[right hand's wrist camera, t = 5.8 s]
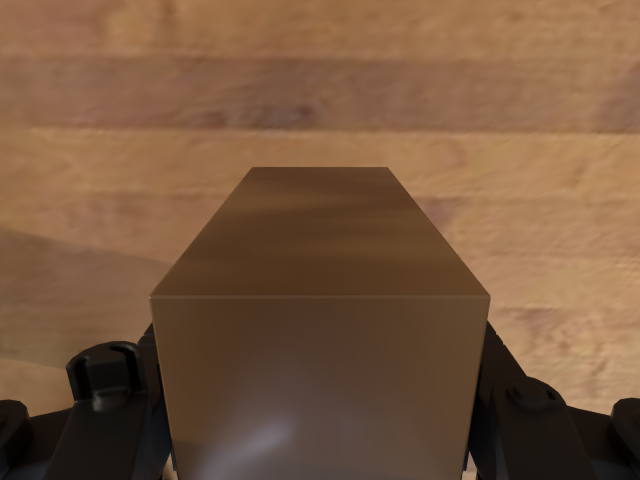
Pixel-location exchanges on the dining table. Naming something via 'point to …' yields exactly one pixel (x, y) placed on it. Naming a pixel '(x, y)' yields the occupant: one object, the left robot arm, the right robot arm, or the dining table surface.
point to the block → (319, 334)
